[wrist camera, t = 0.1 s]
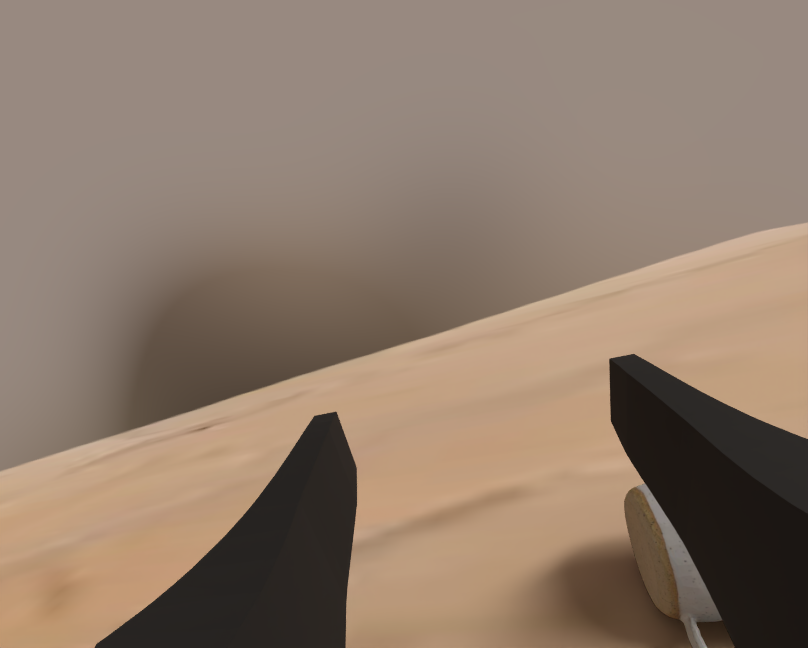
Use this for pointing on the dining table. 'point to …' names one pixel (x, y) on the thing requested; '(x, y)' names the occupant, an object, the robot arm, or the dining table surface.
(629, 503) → the ceramic mug
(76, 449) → the dining table surface
